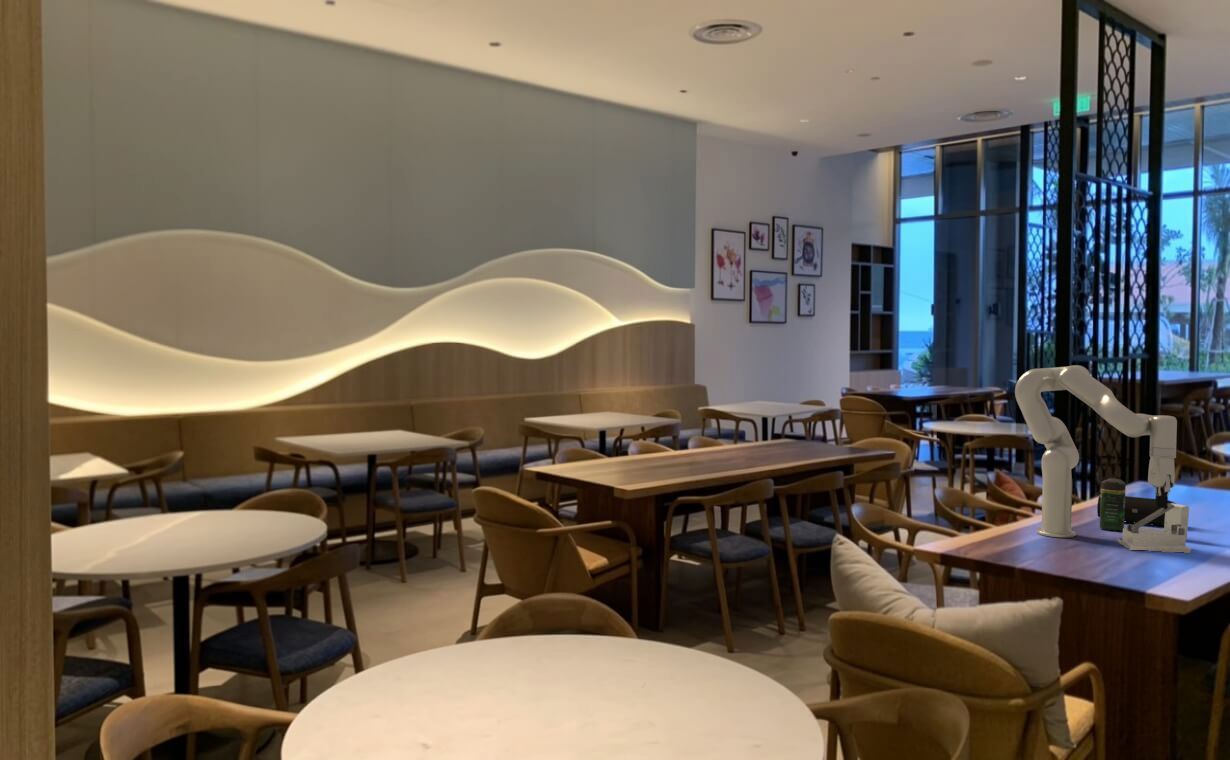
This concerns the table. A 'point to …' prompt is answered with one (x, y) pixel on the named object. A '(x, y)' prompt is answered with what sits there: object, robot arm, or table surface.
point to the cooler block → (1155, 539)
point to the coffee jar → (1112, 504)
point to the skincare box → (1177, 517)
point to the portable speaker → (1139, 510)
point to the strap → (1152, 516)
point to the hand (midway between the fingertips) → (1161, 507)
